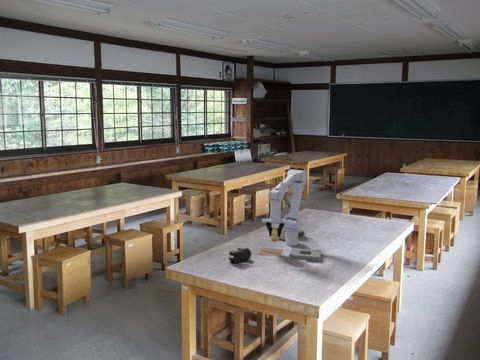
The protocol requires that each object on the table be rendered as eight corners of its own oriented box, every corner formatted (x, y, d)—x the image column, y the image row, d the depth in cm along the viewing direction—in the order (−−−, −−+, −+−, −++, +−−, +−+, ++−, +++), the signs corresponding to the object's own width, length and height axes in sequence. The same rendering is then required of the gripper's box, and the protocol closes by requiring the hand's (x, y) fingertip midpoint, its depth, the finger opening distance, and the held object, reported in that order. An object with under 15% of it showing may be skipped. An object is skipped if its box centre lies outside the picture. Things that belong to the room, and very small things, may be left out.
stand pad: (262, 249, 263) (262, 248, 263) (283, 251, 260) (283, 249, 260) (257, 256, 252) (257, 254, 252) (280, 257, 249) (280, 256, 249)
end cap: (239, 266, 236) (239, 253, 235) (228, 263, 240) (228, 250, 239) (251, 261, 244) (251, 248, 242) (240, 258, 248) (240, 246, 247)
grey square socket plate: (292, 252, 258) (292, 248, 258) (321, 254, 255) (321, 250, 254) (289, 259, 247) (289, 254, 246) (319, 261, 243) (319, 257, 243)
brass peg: (271, 238, 257) (271, 226, 256) (279, 239, 256) (279, 227, 255) (270, 241, 253) (270, 228, 252) (278, 241, 252) (278, 229, 251)
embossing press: (305, 234, 296) (307, 187, 291) (286, 242, 277) (287, 193, 272) (290, 231, 302) (292, 185, 297) (271, 239, 283) (271, 190, 279)
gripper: (260, 212, 250) (260, 237, 252) (287, 214, 246) (287, 239, 248) (263, 209, 256) (263, 233, 259) (289, 211, 253) (289, 235, 255)
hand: (275, 236), depth 254 cm, fingers closed on brass peg, 4 cm apart
